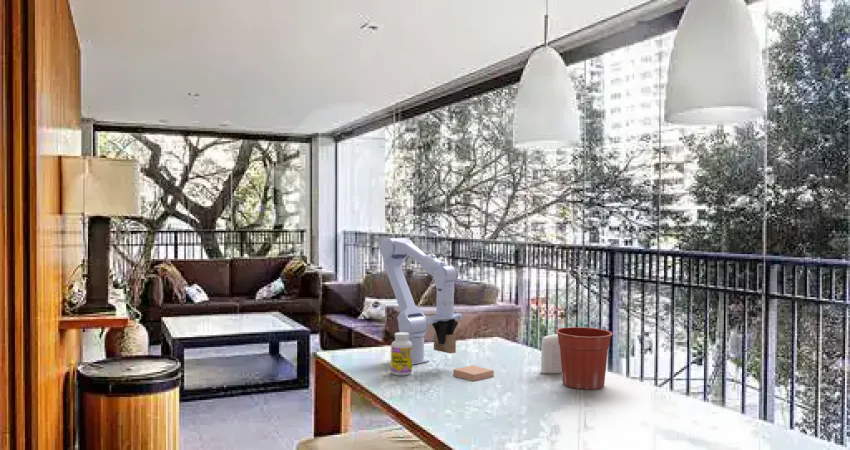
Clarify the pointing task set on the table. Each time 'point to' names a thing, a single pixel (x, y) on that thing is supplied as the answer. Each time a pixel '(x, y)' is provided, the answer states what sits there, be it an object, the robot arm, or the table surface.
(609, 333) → the flower pot
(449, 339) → the bar
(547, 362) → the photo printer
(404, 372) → the supplement bottle
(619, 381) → the table surface
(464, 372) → the glazed tile
